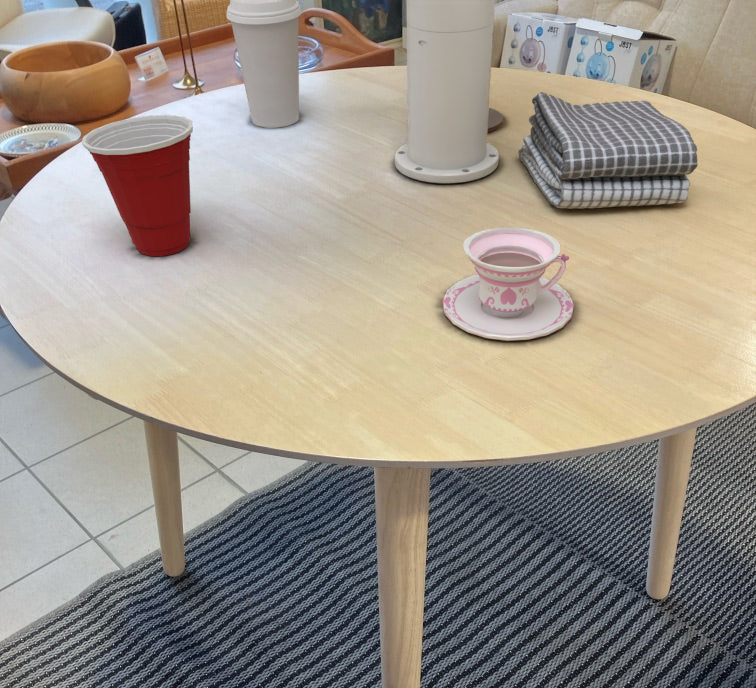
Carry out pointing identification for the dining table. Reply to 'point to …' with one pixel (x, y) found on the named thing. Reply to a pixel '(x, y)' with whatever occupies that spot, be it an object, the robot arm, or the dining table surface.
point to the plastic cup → (148, 178)
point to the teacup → (510, 286)
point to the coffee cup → (268, 58)
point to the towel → (607, 154)
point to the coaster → (494, 120)
